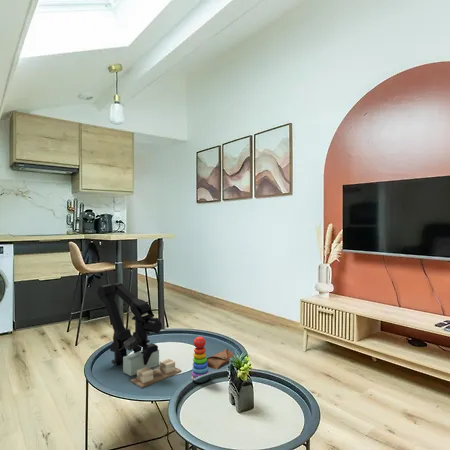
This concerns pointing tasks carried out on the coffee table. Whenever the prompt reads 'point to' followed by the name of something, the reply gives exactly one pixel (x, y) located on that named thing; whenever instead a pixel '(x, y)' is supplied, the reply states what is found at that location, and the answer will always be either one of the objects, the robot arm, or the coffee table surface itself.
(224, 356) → the sunglasses case
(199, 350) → the stacking toy
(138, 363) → the lintel
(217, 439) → the coffee table surface
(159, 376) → the bridge base
